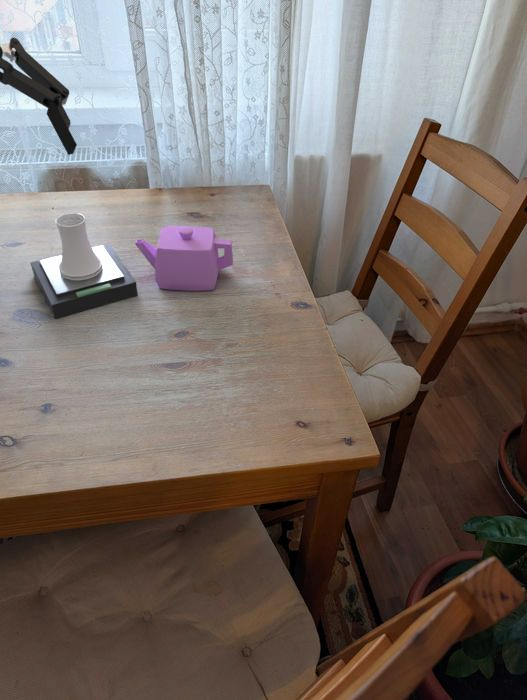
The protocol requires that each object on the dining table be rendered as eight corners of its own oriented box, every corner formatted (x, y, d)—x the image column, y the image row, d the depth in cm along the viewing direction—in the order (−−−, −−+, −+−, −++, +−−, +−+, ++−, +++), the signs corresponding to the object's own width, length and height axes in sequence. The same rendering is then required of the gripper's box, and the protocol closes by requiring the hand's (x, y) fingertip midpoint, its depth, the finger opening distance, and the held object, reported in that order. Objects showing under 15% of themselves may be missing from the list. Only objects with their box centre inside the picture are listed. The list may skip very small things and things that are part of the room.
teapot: (135, 290, 97) (128, 242, 90) (144, 260, 105) (138, 213, 98) (231, 294, 98) (232, 246, 91) (233, 263, 106) (234, 217, 99)
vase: (58, 261, 97) (46, 211, 90) (100, 255, 99) (91, 207, 92) (60, 283, 92) (47, 232, 85) (104, 277, 94) (95, 227, 87)
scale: (55, 319, 90) (50, 302, 88) (34, 275, 100) (29, 259, 97) (138, 295, 96) (135, 279, 94) (110, 256, 106) (108, 240, 103)
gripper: (33, 24, 80) (100, 153, 82) (-155, 44, 66) (-69, 197, 69) (41, -13, 73) (114, 128, 76) (-166, 1, 60) (-70, 171, 62)
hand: (27, 161), depth 72 cm, fingers open, 13 cm apart
